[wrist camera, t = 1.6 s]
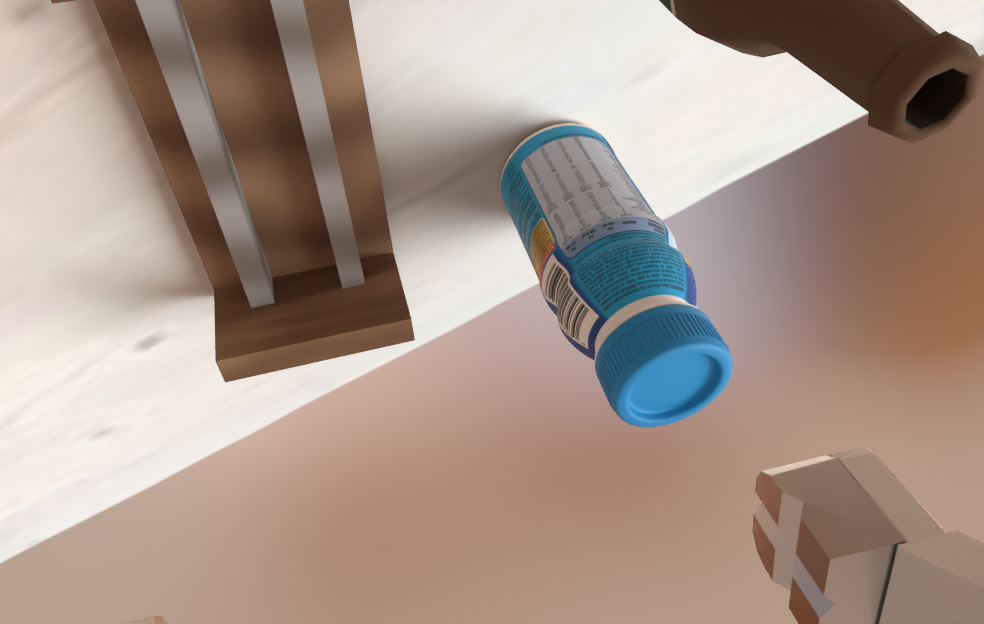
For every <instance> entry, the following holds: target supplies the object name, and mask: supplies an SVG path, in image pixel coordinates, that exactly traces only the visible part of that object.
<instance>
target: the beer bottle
mask: <svg viewBox="0 0 984 624" xmlns="http://www.w3.org/2000/svg"><path fill="white" fill-rule="evenodd" d="M660 2H661V3H662V4H663V5H664V6H665V7H666V8H667V9H668V10H669V11H670V12H671V13H672V14H673V15H674V16H675V17H676V18H677V19H679V20H680V21H681V22H683V23H684V24H685V25H686V26H688V27H689V28H690V29H692V30H693V31H694V32H695V33H697V34H700V35H702V36H704V37H707V38H709V39H711V40H714V41H716V42H718V43H720V44H723V45H725V46H727V47H730V48H732V49H734V50H737V51H739V52H741V53H745V54H749V55H754V56H759V57H767V56H771V55H776V54H780V53H785V52H788V53H789V54H790V55H792V56H793V57H794V58H796V59H797V60H799V61H800V62H801V63H803V64H804V65H805V66H807V67H808V68H809V69H811V70H812V71H814V72H815V73H816V74H818V75H819V76H820V77H822V78H823V79H825V80H826V81H827V82H829V83H830V84H831V85H833V86H834V87H835V88H837V89H838V90H840V91H841V92H842V93H844V94H845V95H846V96H848V97H849V98H850V99H852V100H853V101H855V102H856V103H857V104H859V105H860V106H861V107H863V108H864V109H865V110H867V111H868V112H869V119H868V125H869V126H871V127H873V128H876V129H879V130H881V131H883V132H886V133H888V134H890V135H893V136H895V137H898V138H901V139H903V140H905V141H908V142H911V143H915V142H917V141H920V140H922V139H924V138H927V137H929V136H931V135H934V134H936V133H938V132H941V131H943V130H945V129H947V128H949V127H950V126H951V125H952V124H953V122H954V121H955V120H956V119H957V118H958V117H959V116H960V115H961V114H962V112H963V111H964V110H965V109H966V108H967V107H968V106H969V104H970V103H971V102H972V101H973V100H974V99H975V98H976V97H977V95H978V90H979V85H980V79H981V74H982V68H983V62H982V60H981V59H980V57H979V55H978V54H977V52H976V51H975V49H974V47H973V46H972V45H970V44H969V43H967V42H965V41H963V40H961V39H959V38H958V37H956V36H954V35H952V34H950V33H949V32H947V31H945V32H943V33H941V34H938V33H937V32H936V31H935V30H933V29H932V28H931V27H930V26H929V25H927V24H926V23H925V22H924V21H923V20H921V19H920V18H919V17H918V16H917V15H915V14H914V13H913V12H912V11H910V10H909V9H908V8H907V7H906V6H904V5H903V4H902V3H901V2H900V1H898V0H660Z"/></svg>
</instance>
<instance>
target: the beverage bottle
mask: <svg viewBox="0 0 984 624" xmlns="http://www.w3.org/2000/svg"><path fill="white" fill-rule="evenodd" d="M500 189H501V195H502V199H503V202H504V204H505V206H506V208H507V210H508V212H509V214H510V216H511V218H512V220H513V222H514V224H515V227H516V229H517V231H518V233H519V235H520V238H521V240H522V242H523V245H524V247H525V249H526V251H527V254H528V256H529V258H530V260H531V263H532V265H533V267H534V270H535V272H536V274H537V276H538V279H539V282H540V287H541V291H542V294H543V296H544V298H545V300H546V302H547V304H548V305H549V307H550V308H551V310H552V311H553V312H554V313H555V314H556V315H557V317H558V323H559V326H560V328H561V331H562V332H563V334H564V335H565V337H566V338H567V339H568V340H569V342H570V343H571V344H572V345H573V346H574V347H576V348H577V349H578V350H579V351H580V352H582V353H583V354H584V355H586V356H588V357H590V358H591V359H593V360H595V369H596V374H597V377H598V379H599V381H600V384H601V386H602V388H603V390H604V392H605V395H606V397H607V399H608V401H609V403H610V405H611V407H612V409H613V410H614V411H615V412H616V414H617V415H618V416H619V417H620V418H621V419H622V420H623V421H625V422H627V423H629V424H631V425H635V426H640V427H655V426H662V425H666V424H670V423H673V422H677V421H679V420H682V419H684V418H686V417H688V416H690V415H692V414H694V413H696V412H697V411H699V410H701V409H702V408H704V407H705V406H706V405H708V404H709V403H710V402H711V401H713V400H714V399H715V398H716V397H717V396H718V395H719V393H720V392H721V391H722V390H723V389H724V387H725V386H726V384H727V382H728V381H729V378H730V376H731V373H732V366H733V365H732V358H731V355H730V352H729V349H728V347H727V345H726V344H725V342H724V341H723V339H722V338H721V336H720V335H719V333H718V332H717V330H716V328H715V327H714V326H713V324H712V323H711V321H710V320H709V319H708V317H707V316H706V315H705V314H704V313H703V312H702V311H701V310H699V309H698V308H697V307H696V285H695V280H694V275H693V272H692V269H691V266H690V264H689V262H688V261H687V259H686V258H685V257H684V256H683V255H682V254H681V253H680V252H679V251H678V249H677V245H676V242H675V239H674V237H673V235H672V234H671V231H670V230H669V228H668V227H667V225H666V224H665V223H664V222H663V221H662V220H661V219H660V218H659V217H658V216H656V214H655V213H654V211H653V210H652V208H651V207H650V205H649V204H648V203H647V201H646V200H645V198H644V197H643V195H642V194H641V192H640V191H639V189H638V188H637V187H636V185H635V184H634V182H633V181H632V179H631V178H630V176H629V175H628V173H627V172H626V170H625V169H624V168H623V166H622V165H621V163H620V162H619V160H618V159H617V157H616V155H615V153H614V151H613V149H612V148H611V146H610V145H609V143H608V142H607V140H606V139H605V138H604V137H603V136H602V135H601V134H600V133H598V132H597V131H596V130H594V129H592V128H590V127H587V126H584V125H581V124H574V123H563V124H556V125H552V126H548V127H546V128H543V129H541V130H539V131H537V132H535V133H533V134H531V135H530V136H528V137H527V138H526V139H524V140H523V141H522V142H521V143H520V144H519V145H518V146H517V147H516V148H515V149H514V150H513V152H512V153H511V154H510V156H509V158H508V159H507V161H506V163H505V165H504V168H503V171H502V175H501V181H500Z"/></svg>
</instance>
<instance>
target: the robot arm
mask: <svg viewBox="0 0 984 624" xmlns="http://www.w3.org/2000/svg"><path fill="white" fill-rule="evenodd" d="M755 492H756V493H757V495H758V496H759V498H760V500H761V501H762V504H761V505H760V506H759V508H758V509H757V510H756V511H755V513H754V514H753V535H754V540H755V544H756V548H757V552H758V554H759V556H760V559H761V561H762V563H763V565H764V567H765V569H766V570H767V572H768V574H769V575H770V577H771V579H772V580H773V581H775V582H776V583H778V584H780V585H782V586H783V587H785V588H787V589H788V590H790V591H791V592H790V601H789V609H790V610H791V612H792V614H793V615H794V617H795V619H796V620H797V622H798V623H799V624H984V543H983V542H982V541H979V540H977V539H975V538H973V537H971V536H968V535H966V534H964V533H962V532H960V531H952V532H946V531H945V530H944V529H943V528H942V527H941V526H940V525H939V524H938V523H937V522H936V521H935V519H934V518H933V517H932V516H931V515H930V514H929V513H928V512H927V510H926V509H925V508H924V507H923V506H922V505H921V504H920V503H919V502H918V501H917V499H916V498H915V497H914V496H913V495H912V494H911V493H910V492H909V491H908V490H907V488H906V487H905V486H904V485H903V484H902V483H901V482H900V481H899V480H898V479H897V478H896V477H895V475H894V474H893V473H892V472H891V471H890V470H889V469H888V468H887V466H886V465H885V464H884V463H883V462H882V461H881V460H880V459H879V458H878V457H877V455H876V454H875V453H874V452H873V451H872V450H870V449H868V448H866V447H860V448H856V449H852V450H848V451H844V452H839V453H835V454H831V455H829V456H821V457H817V458H812V459H808V460H805V461H800V462H797V463H792V464H789V465H784V466H781V467H777V468H773V469H769V470H765V471H761V472H760V474H759V475H758V477H757V479H756V488H755ZM121 624H167V623H166V622H165V620H164V618H163V617H162V616H154V617H150V618H145V619H140V620H135V621H130V622H126V623H121Z"/></svg>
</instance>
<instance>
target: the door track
mask: <svg viewBox="0 0 984 624" xmlns="http://www.w3.org/2000/svg"><path fill="white" fill-rule="evenodd" d="M51 1H52V3H60V2H67V1H74V0H51ZM94 2H95V4H96V6H97V9H98V11H99V14H100V16H101V18H102V21H103V23H104V26H105V28H106V30H107V33H108V35H109V38H110V40H111V42H112V45H113V47H114V50H115V52H116V54H117V57H118V59H119V62H120V64H121V67H122V69H123V71H124V74H125V76H126V79H127V81H128V83H129V86H130V88H131V91H132V93H133V95H134V98H135V100H136V103H137V105H138V107H139V110H140V112H141V115H142V117H143V119H144V122H145V124H146V127H147V129H148V131H149V134H150V136H151V139H152V141H153V143H154V146H155V148H156V151H157V153H158V155H159V158H160V160H161V163H162V165H163V167H164V170H165V172H166V175H167V177H168V180H169V182H170V184H171V187H172V189H173V192H174V194H175V196H176V199H177V201H178V204H179V206H180V208H181V211H182V213H183V216H184V218H185V220H186V223H187V225H188V228H189V230H190V232H191V235H192V237H193V240H194V242H195V244H196V247H197V249H198V252H199V254H200V256H201V259H202V261H203V264H204V266H205V268H206V271H207V273H208V276H209V278H210V280H211V283H212V285H213V288H214V301H215V350H216V363H217V365H218V367H219V370H220V372H221V374H222V376H223V378H224V381H225V382H229V381H233V380H238V379H242V378H247V377H251V376H256V375H260V374H265V373H269V372H274V371H278V370H283V369H287V368H292V367H296V366H301V365H305V364H310V363H314V362H319V361H323V360H328V359H332V358H337V357H341V356H346V355H350V354H355V353H359V352H364V351H368V350H373V349H377V348H382V347H386V346H391V345H395V344H400V343H404V342H409V341H413V340H415V339H414V333H413V327H412V322H411V317H410V313H409V309H408V306H407V302H406V298H405V294H404V291H403V287H402V283H401V280H400V276H399V272H398V268H397V265H396V261H395V257H394V254H393V248H392V243H391V237H390V231H389V226H388V220H387V214H386V209H385V203H384V198H383V192H382V186H381V181H380V175H379V169H378V164H377V158H376V152H375V147H374V141H373V135H372V130H371V124H370V119H369V113H368V107H367V102H366V96H365V90H364V85H363V79H362V73H361V68H360V62H359V57H358V51H357V45H356V40H355V34H354V28H353V23H352V17H351V11H350V6H349V0H94Z"/></svg>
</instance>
